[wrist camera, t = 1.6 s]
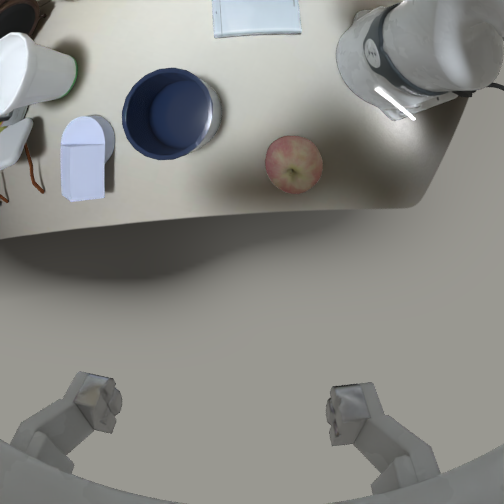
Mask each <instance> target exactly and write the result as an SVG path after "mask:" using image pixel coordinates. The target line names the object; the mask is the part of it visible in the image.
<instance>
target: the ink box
mask: <svg viewBox="0 0 504 504" xmlns="http://www.w3.org/2000/svg"><path fill="white" fill-rule="evenodd" d="M27 107H28V105H27V106H23V107H19V108H15V109H13V110H12V111H11V112H9V113H7V114H5V115H2V116H0V127H3V126H9V125H13V124H15V123H17V122H19V121H21V120H23V119H24V116H25V113H26V110H27Z"/></svg>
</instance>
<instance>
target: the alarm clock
mask: <svg viewBox="0 0 504 504" xmlns="http://www.w3.org/2000/svg"><path fill="white" fill-rule="evenodd" d="M39 15H40V8H39V5H38V3H37V1H36V0H0V39H1V38H2V37H4V36H6V35H7V34H9V33H11V32H20V33H24V34H27V35H28V36H29V37H30V36H31V35H32V33H33V32H34V30H35V28H36V26H37V23H38V20H39V19H41V18H42V17H46V14H44V15H42V16H39Z"/></svg>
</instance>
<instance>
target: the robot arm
mask: <svg viewBox="0 0 504 504" xmlns="http://www.w3.org/2000/svg"><path fill="white" fill-rule="evenodd" d="M503 41H504V0H404V1H403V2H402V3H398V4H395V5H393V6H391V7H388V8H384V7H383V6H380V7H377V8H376V9H374V10H372V11H368V10H361V11H359V12H358V13H357V14H356V15H355V18H354V22H353V24H352V26H351V27H350V28H349V29H348V30H347V31H346V32H345V33H344V34H343V35H342V36H341V38H340V40H339V42H338V46H337V51H336V59H337V65H338V69H339V71H340V74H341V76H342V78H343V80H344V81H345V83H346V84H347V85H348V87H349V88H350V89H351V90H352V91H353V92H354V93H355V94H356V95H357V96H359V97H360V98H361V99H363V100H365V101H366V102H368V103H371V104H373V105H375V106H377V107H378V108H380V109H381V110H382V111H383V113H384V114H385V115H386V116H387V117H388V118H390V119H391V120H393V121H396V120H400V119H403V118H405V117H408V116H409V117H410V118H411V119H412V120H415V119H416V118H415V117H414V116H412V115H413V114H415V113H418V112H420V111H423V110H426V109H428V108H431V107H434V106H436V105H439V104H442V103H444V102H447V101H450V100H453V99H455V98H457V97H458V95H459V96H461V97H472V93H474V92H476V90H480V89H482V88H485V87H495V88H499V89H501V90H503V91H504V86H502V85H500V84H497V83H492V82H493V81H494V80H495V79H496V78H497V76H498V74H499V72H500V68H501V65H502V61H503V55H504V47H503ZM399 109H400V110H401V111H402V113H400V111H399ZM115 385H116V383H115V381H114V379H113V378H108V377H104V376H99V375H94V374H90V373H86V372H81V371H80V372H78V373H77V374H76V376H75V377H74V379H73V381H72V383H71V385H70V386H69V388H68V390H67V392H66V394H65V395H64V398H63V399H59V400H57V401H56V402H54V403H52V404H51V405H49V406H47V407H46V408H44V409H42V410H41V411H39V412H38V413H36V414H34V415H33V416H31V417H29V418H28V419H26V420H25V421H23V422H21V424H20V426H19V428H18V429H17V431H16V433H15V435H14V437H13V439H12V441H11V443H10V445H9V444H8V443H6V442H4V441H2V440H1V439H0V504H185V503H178V502H172V501H166V500H160V499H155V498H150V497H146V496H141V495H137V494H133V493H129V492H125V491H121V490H118V489H114V488H110V487H107V486H104V485H101V484H98V483H95V482H92V481H89V480H86V479H83V478H81V477H78V476H75V475H73V474H72V470H73V468H74V464H73V462H72V461H71V460H70V459H69V458H68V457H67V456H66V455H67V454H68V453H69V452H71V450H73V449H74V448H75V447H76V446H77V445H78V444H80V443H81V442H82V441H83V440H84V439H85V438H86V437H88V436H89V435H90V434H91V433H92V432H93V431H94V430H97V431H102V432H106V433H112V432H113V429H114V426H115V424H116V418H115V416H116V415H117V414H118V413H120V410H121V407H122V397H121V394H120V391H119V390H117V389H116V388H115ZM330 395H331V398H330V399H328V401H327V405H326V417H327V422H328V423H329V424H330V425H331V428H330V431H329V434H330V438H331V444H332V446H337V445H345V444H346V445H347V444H354V446H355V447H356V448H357V449H358V450H359V451H360V452H361V453H362V454H363V455H364V456H365V457H366V458H367V459H368V460H369V461H370V462H371V463H372V464H373V465H374V466H375V468H377V469H378V471H379V472H380V473H381V475H380V476H379V477H378V478H377V479H376V480H375V481H374V482H373V483H372V484H371V488H372V493H373V495H371V496H367V497H363V498H357V499H352V500H347V501H341V502H335V503H328V504H504V444H503V445H501V446H499V447H497V448H495V449H494V450H492V451H490V452H488V453H486V454H484V455H482V456H480V457H478V458H476V459H474V460H472V461H470V462H468V463H466V464H463V465H461V466H459V467H457V468H454V469H452V470H450V471H447V472H445V473H442V474H441V473H440V470H439V468H438V465H437V462H436V459H435V456H434V454H433V451H432V448H431V446H429V445H428V444H426V443H425V442H424V441H422V440H421V439H420V438H418V437H417V436H416V435H414V434H413V433H412V432H410V431H409V430H408V429H406V428H405V427H403V426H402V425H401V424H399V423H398V422H397V421H396V420H394V419H393V418H392V417H390V416H389V415H386V416H385V414H384V412H383V409H382V406H381V403H380V401H379V398H378V395H377V392H376V389H375V387H374V384H373V383H372V382H368V383H361V384H350V385H342V386H333V387H332V388H331V391H330Z"/></svg>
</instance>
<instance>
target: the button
mask: <svg viewBox="0 0 504 504" xmlns="http://www.w3.org/2000/svg"><path fill="white" fill-rule="evenodd" d="M32 127H33V121H32V119H31V118H25V119H23V120H21V121H19V122H17V123H15V124H13V125H11V126H9V127H7V128H5V129H4V130H3V131H2V132H1V133H0V170H2V169H5V168H7V167H9V166H12V165H13V164H15V163H16V162H17V160H18V159H19V157H20V155H21V153H22V150H23V148H24V145H25V143H26V141H27V138H28V136H29V134H30V131H31V129H32Z"/></svg>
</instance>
